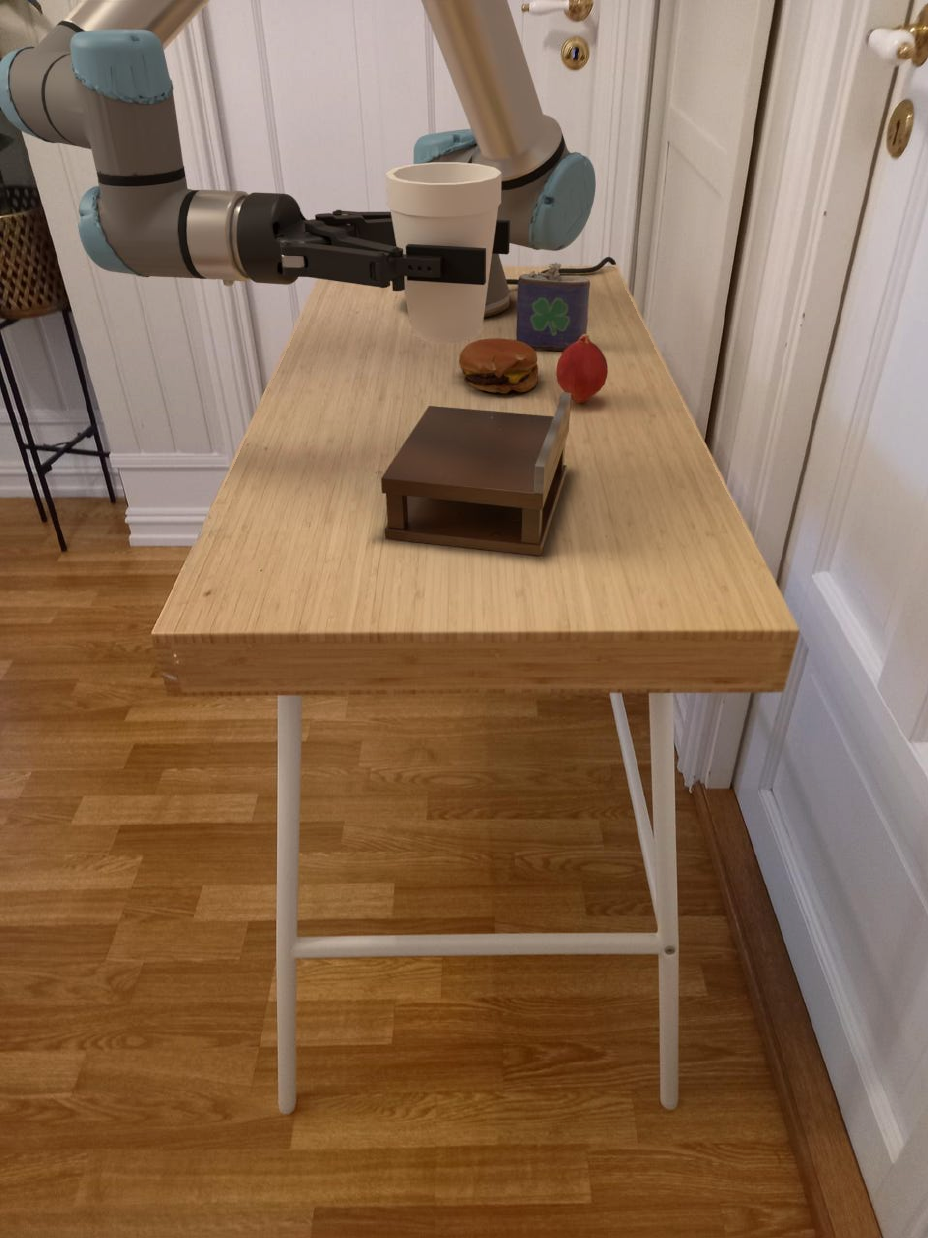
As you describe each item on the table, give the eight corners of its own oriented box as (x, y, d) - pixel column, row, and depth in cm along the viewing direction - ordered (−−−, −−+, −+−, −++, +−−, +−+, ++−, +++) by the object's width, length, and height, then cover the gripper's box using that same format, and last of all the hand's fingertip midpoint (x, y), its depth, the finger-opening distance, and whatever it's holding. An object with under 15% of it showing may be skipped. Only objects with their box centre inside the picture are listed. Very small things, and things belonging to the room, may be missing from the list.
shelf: (430, 460, 96) (427, 381, 91) (566, 473, 93) (571, 392, 88) (384, 538, 83) (378, 450, 78) (540, 556, 80) (544, 466, 75)
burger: (486, 362, 118) (486, 325, 116) (551, 376, 114) (553, 339, 112) (443, 388, 112) (443, 349, 109) (511, 404, 108) (512, 365, 105)
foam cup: (485, 352, 79) (486, 186, 72) (381, 344, 81) (371, 182, 73) (507, 317, 87) (509, 163, 79) (411, 310, 89) (404, 160, 81)
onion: (548, 394, 110) (551, 327, 105) (595, 390, 111) (600, 323, 106) (563, 414, 105) (567, 344, 100) (611, 409, 106) (617, 340, 101)
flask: (586, 346, 123) (592, 261, 117) (584, 353, 121) (589, 268, 115) (517, 341, 125) (519, 258, 119) (513, 349, 122) (515, 264, 116)
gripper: (301, 250, 94) (520, 263, 90) (203, 317, 77) (468, 336, 73) (292, 169, 90) (522, 178, 86) (186, 220, 73) (467, 235, 68)
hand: (497, 251), depth 79 cm, fingers closed on foam cup, 9 cm apart
